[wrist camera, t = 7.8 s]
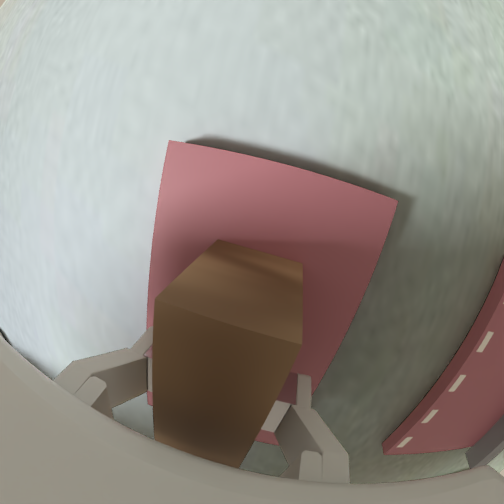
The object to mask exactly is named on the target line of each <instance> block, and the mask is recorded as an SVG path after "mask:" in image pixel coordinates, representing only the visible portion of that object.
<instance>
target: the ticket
mask: <svg viewBox="0 0 504 504" xmlns="http://www.w3.org/2000/svg"><path fill="white" fill-rule="evenodd" d="M382 447H383V453H384V455H398V454H418V453H430V452H439V451H447V450H454V449H461V448H466V447H471V448H470V449H469V450H468V451H467V452H466V453H465V454H466V457H467V460H468V464H469V467H470V469H472V468H476V467H479V466H483V465H486V464H488V463H489V462H490V461H491V460H492V459H493V458H495V457H496V456H497V455H498V454H499V453H500V452H501V451H502V450H503V449H504V258H503V261H502V264H501V266H500V269H499V271H498V274H497V276H496V279H495V281H494V283H493V286H492V288H491V290H490V292H489V294H488V297H487V299H486V301H485V303H484V305H483V307H482V309H481V311H480V313H479V315H478V317H477V319H476V320H475V322H474V324H473V326H472V328H471V329H470V331H469V333H468V335H467V336H466V338H465V340H464V341H463V343H462V345H461V346H460V348H459V350H458V351H457V353H456V354H455V356H454V357H453V359H452V360H451V362H450V363H449V365H448V366H447V368H446V369H445V371H444V372H443V373H442V375H441V376H440V378H439V379H438V380H437V382H436V383H435V384H434V386H433V387H432V388H431V390H430V391H429V392H428V393H427V395H426V396H425V397H424V398H423V400H422V401H421V402H420V403H419V404H418V406H417V407H416V408H415V409H414V410H413V411H412V413H411V414H410V415H409V416H408V417H407V418H406V419H405V420H404V422H403V423H402V424H401V425H400V426H399V427H398V428H397V429H396V430H395V431H394V432H393V433H392V434H391V435H390V436H389V437H388V438H387V439H386V440H385V441H384V442H383V443H382Z"/></svg>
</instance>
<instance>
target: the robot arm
mask: <svg viewBox="0 0 504 504" xmlns="http://www.w3.org/2000/svg"><path fill="white" fill-rule="evenodd" d="M152 344H153V326H151V327H149V328H148V329H147V331H146V332H145V333H144V334H143V335H142V336H141V337H140V338H139V340H138V341H137V342H136V343H135V344H134V345H133V346H132V348H131V349H128V348H124V349H120V350H117V351H113V352H109V353H105V354H101V355H97V356H93V357H89V358H85V359H80V360H76V361H72V362H71V363H70V364H69V365H68V366H67V367H66V368H65V369H64V370H63V371H62V372H61V373H60V374H59V375H58V376H57V377H56V378H55V379H54V380H53V381H52V380H51V379H50V378H48V377H47V376H46V375H45V374H43V373H42V372H41V371H39V370H38V369H37V368H36V367H35V366H33V365H32V364H31V363H30V362H29V361H27V360H26V359H25V358H24V357H23V356H22V355H21V354H19V353H18V352H17V351H16V350H15V349H14V348H13V347H12V346H11V345H10V344H9V343H8V342H7V341H6V340H5V339H4V338H3V336H2V334H1V333H0V504H504V477H503V476H502V475H501V474H500V473H498V472H497V471H496V470H495V469H493V468H492V467H490V466H488V465H483V466H479V467H476V468H472V469H469V470H465V471H461V472H456V473H452V474H447V475H442V476H437V477H431V478H425V479H418V480H410V481H401V482H388V483H350V472H349V454H348V453H347V452H346V450H345V449H344V448H343V446H342V445H341V444H340V442H339V441H338V440H337V438H336V437H335V436H334V434H333V433H332V432H331V430H330V429H329V428H328V426H327V425H326V424H325V422H324V421H323V420H322V418H321V417H320V416H319V414H318V413H317V411H316V410H315V409H311V376H309V375H304V374H299V373H294V372H289V375H288V377H287V379H286V381H285V383H284V385H283V387H282V389H281V391H280V393H279V395H278V397H277V399H276V401H275V403H274V405H273V407H272V409H271V411H270V413H269V415H268V417H267V419H266V421H265V422H264V424H263V426H262V428H261V429H262V430H266V431H270V432H274V435H275V437H276V439H277V441H278V444H279V446H280V448H281V450H282V452H283V454H284V456H285V459H286V461H287V463H288V465H289V467H288V468H287V469H286V470H285V471H284V472H283V473H282V474H281V475H280V476H279V477H277V476H271V475H265V474H260V473H256V472H251V471H247V470H242V469H238V468H234V467H231V466H227V465H223V464H220V463H216V462H213V461H210V460H207V459H204V458H200V457H197V456H195V455H192V454H189V453H186V452H183V451H181V450H178V449H175V448H173V447H170V446H168V445H165V444H163V443H161V442H158V441H156V440H154V439H151V438H149V437H147V436H145V435H143V434H141V433H138V432H136V431H134V430H132V429H130V428H128V427H126V426H124V425H122V424H120V423H119V422H117V421H115V420H114V417H113V413H112V409H111V408H113V407H115V406H118V405H120V404H122V403H124V402H126V401H128V400H131V399H133V398H135V397H137V396H139V395H141V394H143V393H145V392H147V390H148V391H150V392H152Z"/></svg>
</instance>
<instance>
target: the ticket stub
mask: <svg viewBox="0 0 504 504" xmlns="http://www.w3.org/2000/svg"><path fill="white" fill-rule="evenodd" d="M397 204H398V201H397V200H395V199H392V198H389V197H387V196H384V195H381V194H379V193H376V192H373V191H370V190H367V189H365V188H362V187H359V186H356V185H353V184H350V183H347V182H344V181H341V180H338V179H334V178H331V177H328V176H325V175H321V174H318V173H315V172H311V171H308V170H304V169H301V168H297V167H294V166H290V165H286V164H282V163H278V162H275V161H271V160H267V159H262V158H258V157H254V156H250V155H245V154H241V153H236V152H231V151H227V150H222V149H217V148H212V147H206V146H201V145H195V144H189V143H183V142H177V141H170V140H169V142H168V147H167V152H166V157H165V162H164V167H163V173H162V178H161V184H160V190H159V196H158V203H157V210H156V217H155V225H154V233H153V241H152V251H151V261H150V272H149V286H148V303H147V329H148V328H149V327H151V326H153V344H152V392H150V391H148V390H147V399H148V404H149V405H151V406H153V422H154V438H155V440H156V441H158V442H161V443H163V444H165V445H168V446H170V447H173V448H175V449H178V450H181V451H183V452H186V453H189V454H192V455H195V456H197V457H200V458H204V459H207V460H210V461H213V462H216V463H220V464H223V465H227V466H231V467H234V468H239V467H240V465H241V463H242V462H243V460H244V458H245V456H246V455H247V453H248V451H249V450H250V448H251V446H252V444H253V442H254V441H259V442H263V443H268V444H273V445H278V446H279V444H278V441H277V439H276V437H275V435H274V432H270V431H266V430H262V429H261V428H262V426H263V424H264V422H265V421H266V419H267V417H268V415H269V413H270V411H271V409H272V407H273V405H274V403H275V401H276V399H277V397H278V395H279V393H280V391H281V389H282V387H283V385H284V383H285V381H286V379H287V377H288V375H289V372H294V373H299V374H304V375H309V376H311V396H312V395H313V393H314V391H315V390H316V388H317V386H318V385H319V383H320V381H321V379H322V378H323V376H324V374H325V372H326V371H327V369H328V367H329V365H330V363H331V361H332V360H333V358H334V356H335V354H336V352H337V350H338V348H339V346H340V344H341V342H342V340H343V338H344V336H345V334H346V332H347V330H348V328H349V326H350V324H351V322H352V320H353V318H354V316H355V314H356V311H357V309H358V307H359V305H360V303H361V300H362V298H363V296H364V293H365V291H366V289H367V286H368V284H369V282H370V279H371V277H372V274H373V272H374V269H375V267H376V264H377V262H378V259H379V256H380V254H381V251H382V248H383V246H384V243H385V240H386V237H387V234H388V231H389V228H390V226H391V223H392V219H393V216H394V213H395V210H396V207H397ZM146 331H147V330H146Z"/></svg>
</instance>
